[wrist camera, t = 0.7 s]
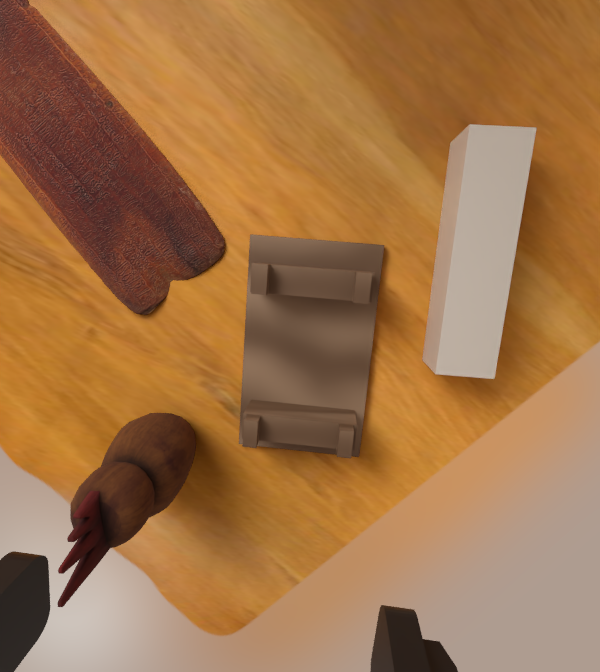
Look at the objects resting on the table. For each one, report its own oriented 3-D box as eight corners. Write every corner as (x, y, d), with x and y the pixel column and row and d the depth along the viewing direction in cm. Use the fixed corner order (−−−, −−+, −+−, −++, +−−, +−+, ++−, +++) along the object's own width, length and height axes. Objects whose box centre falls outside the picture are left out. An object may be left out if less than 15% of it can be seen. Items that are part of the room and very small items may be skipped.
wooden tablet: (237, 245, 31) (232, 244, 30) (145, 322, 33) (136, 325, 31) (1, -54, 29) (-19, -73, 27) (-86, 47, 30) (-110, 35, 29)
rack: (251, 235, 30) (237, 230, 26) (383, 245, 30) (393, 242, 25) (240, 440, 34) (226, 470, 29) (358, 453, 33) (363, 485, 29)
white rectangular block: (449, 143, 29) (469, 124, 24) (506, 146, 28) (536, 127, 24) (421, 359, 32) (435, 374, 28) (472, 363, 32) (494, 378, 27)
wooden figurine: (192, 482, 35) (94, 645, 20) (130, 461, 35) (-13, 609, 20) (213, 414, 34) (123, 535, 19) (148, 392, 34) (9, 495, 19)
